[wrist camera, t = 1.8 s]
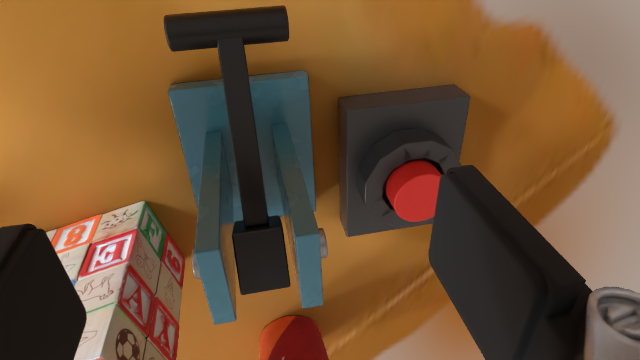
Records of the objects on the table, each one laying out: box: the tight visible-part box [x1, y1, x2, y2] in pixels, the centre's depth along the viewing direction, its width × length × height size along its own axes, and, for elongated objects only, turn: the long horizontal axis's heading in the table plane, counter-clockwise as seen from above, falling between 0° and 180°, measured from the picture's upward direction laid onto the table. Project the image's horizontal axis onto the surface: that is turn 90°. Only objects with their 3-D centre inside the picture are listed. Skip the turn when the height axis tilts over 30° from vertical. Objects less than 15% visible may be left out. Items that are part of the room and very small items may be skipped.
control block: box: [338, 85, 470, 237], centre depth 28 cm, size 10×8×4 cm
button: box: [386, 160, 442, 222], centre depth 26 cm, size 4×4×2 cm
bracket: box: [168, 71, 328, 324], centre depth 22 cm, size 10×8×12 cm
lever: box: [164, 6, 290, 295], centre depth 18 cm, size 12×5×2 cm, turn 3°
